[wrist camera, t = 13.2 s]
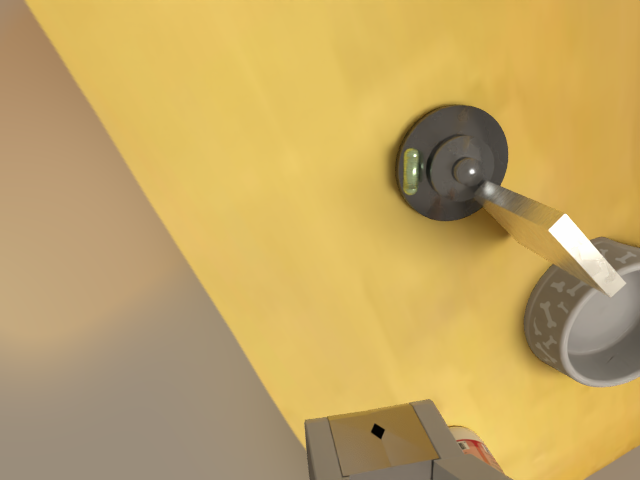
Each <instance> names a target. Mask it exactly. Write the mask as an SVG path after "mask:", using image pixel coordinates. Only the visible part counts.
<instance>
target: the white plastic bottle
mask: <svg viewBox="0 0 640 480" xmlns="http://www.w3.org/2000/svg"><path fill="white" fill-rule="evenodd" d="M448 428H449V429H450V431H451V433H452V434H453V436H454V438H455V439H456V441H457V443H458V444H459V446H460V448H461V449H462V451H463V453H464V454H473V455H474V456H476V457H477V458H479V459H481V460H482V461H484V462H485V463H487V464H489V465H490V466H492V467H493V468H495V469H497V470H498V471H500V472H501V473H503V474H504V472H503V471H502V469H501V468H500V466H499V465H498V463H497V462H496V460H495V459H494V457H493V456H492V454H491V453H490V451H489V450H488V448H487V447H486V445H485V444H484V442H483V441H482V439H481V438H480V437H479V436H478V435H477V434H476V433H475V432H473V431H472V430H470V429H468V428H465V427H448Z"/></svg>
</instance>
